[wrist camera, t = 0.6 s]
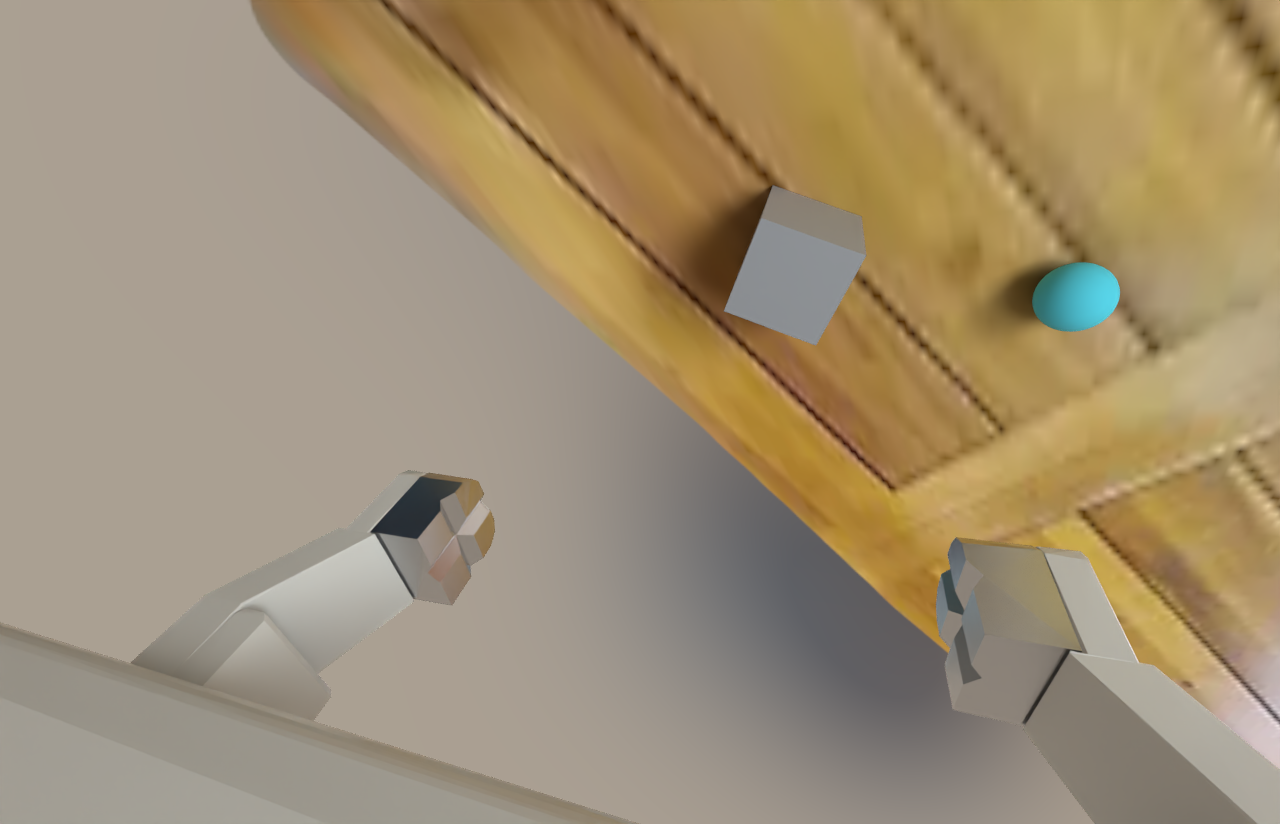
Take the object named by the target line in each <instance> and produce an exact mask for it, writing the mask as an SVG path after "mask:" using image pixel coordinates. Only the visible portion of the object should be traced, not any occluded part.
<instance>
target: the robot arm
mask: <svg viewBox="0 0 1280 824" xmlns="http://www.w3.org/2000/svg"><path fill="white" fill-rule="evenodd" d="M483 495H484V493H483V490H482V488H481V486H480V484H479V482H478V481H476V480H472V479H467V478H460V477H454V476H447V475H441V474H434V473H425V472H417V471H411V470H408V471H405V472H403V473H400V474H399V475H398V476H397V477H396V478H395V479H394V480H393V481H392V482H391V483H390V484H389V485H388V486H387V487H386V488H385V489H384V490H383V491H382V492H381V493H380V494H379V496H377V497H376V498H375V500H373V502H372V503H371V504H370V505H369V506H368V507H367V508H366V509H365V510H364V511H363V512H362V513H361V514H360V515H359V516H358V517H357V518H356V519H355V520H354V521H353V522H352V523H351V524H350V525H349V526H348V527H347V528H346V529H344V528H338V529H336V530H334V531H332V532H331V533H328V534H326V535H325V536H322V537H320V538H318V539H316V540H314V541H312V542H310V543H308V544H306V545H304V546H302V547H300V548H298V549H296V550H294V551H292V552H290V553H288V554H286V555H284V556H283V557H280V558H278V559H276V560H274V561H272V562H270V563H268V564H266V565H264V566H262V567H260V568H258V569H256V570H255V571H252V572H250V573H248V574H246V575H244V576H242V577H240V578H238V579H236V580H234V581H232V582H230V583H228V584H226V585H224V586H222V587H220V588H218V589H216V590H214V591H212V592H210V593H208V594H206V595H204V596H203V597H202V598H201V599H200V600H199V601H198V602H197V603H196V604H194V605H193V606H192V607H191V608H190V609H189V610H188V611H187V612H186V613H184V614H183V615H182V616H181V617H180V618H179V619H178V620H177V621H176V622H175V623H173V624H172V625H171V626H170V627H169V628H168V629H167V630H166V631H165V632H164V633H163V634H162V635H160V636H159V637H158V638H157V639H156V640H155V641H154V642H153V643H151V644H150V645H149V646H148V647H147V648H146V649H145V650H144V651H143V652H142V653H140V654H139V655H138V656H137V657H136V658H135V659H134V660H133V661H132V662H131V663H128V662H124V661H121V660H118V659H115V658H112V657H108V656H106V655H102V654H99V653H96V652H92V651H90V650H86V649H83V648H80V647H76V646H74V645H70V644H67V643H64V642H61V641H58V640H54V639H51V638H48V637H44V636H41V635H38V634H35V633H32V632H29V631H25V630H22V629H19V628H16V627H13V626H10V625H7V624H4V623H1V622H0V824H638V823H635V822H632V821H629V820H626V819H623V818H619V817H616V816H613V815H610V814H607V813H604V812H600V811H597V810H594V809H591V808H588V807H585V806H581V805H578V804H575V803H572V802H569V801H565V800H562V799H559V798H556V797H553V796H550V795H547V794H543V793H540V792H537V791H534V790H531V789H528V788H524V787H521V786H518V785H515V784H511V783H509V782H505V781H502V780H499V779H496V778H493V777H489V776H486V775H483V774H480V773H477V772H474V771H470V770H467V769H464V768H461V767H458V766H454V765H451V764H448V763H445V762H442V761H438V760H436V759H432V758H429V757H426V756H423V755H420V754H416V753H413V752H410V751H407V750H404V749H400V748H397V747H394V746H391V745H388V744H385V743H381V742H378V741H375V740H372V739H369V738H366V737H362V736H359V735H356V734H353V733H349V732H346V731H344V730H340V729H337V728H334V727H331V726H328V725H324V724H321V723H318V722H315V721H314V719H315V718H316V716H317V715H318V714H319V713H320V711H321V710H322V708H323V707H324V706H325V704H326V703H327V702H328V700H329V699H330V698H331V689H330V688H329V687H328V686H327V684H326V683H325V682H324V681H323V680H322V679H321V677H320V676H319V675H318V673H319V672H321V671H322V670H323V669H325V668H326V667H327V666H329V665H330V664H331V663H333V662H334V661H335V660H337V659H338V658H339V657H341V656H342V655H343V654H345V653H346V652H347V651H349V650H350V649H351V648H353V647H354V646H355V645H357V644H358V643H359V642H361V641H362V640H363V639H365V638H366V637H367V636H369V635H370V634H371V633H373V632H374V631H375V630H376V629H378V628H379V627H380V626H382V625H383V624H385V623H386V622H387V621H389V620H390V619H391V618H393V617H394V616H395V615H397V614H398V613H399V612H401V611H402V610H403V609H405V608H406V607H407V606H409V605H410V604H411V603H413V602H414V600H413V599H418V600H423V601H429V602H435V603H440V604H446V605H453V603H454V602H455V600H456V599H457V597H458V596H459V594H460V592H461V591H462V590H463V588H464V587H465V585H466V584H467V582H468V581H469V579H470V577H471V569H470V566H471V565H473V564H474V563H476V562H477V561H479V560H481V559H482V558H484V556H485V554H486V553H487V551H488V549H489V548H490V546H491V543H492V540H493V536H494V532H495V527H494V518H493V516H492V513H491V511H490V510H489V509H488V508H487V507H486V506H485V505H484V504H483V503H482V502H481V499H482V497H483ZM948 559H949V564H950V570H948V571H946V572H944V573H942V574H941V578H940V581H939V585H938V589H937V601H936V612H937V623H938V629H939V636H940V637H941V639H942V640H943V641H944V642H945V643H946V644H947V645H948V646H949V647H950V651H949V654H948V656H947V659H946V662H945V670H946V675H947V681H948V686H949V692H950V696H951V702H952V707H953V710H956V711H960V712H964V713H968V714H973V715H977V716H982V717H986V718H990V719H994V720H999V721H1003V722H1007V723H1012V724H1016V725H1020V726H1024V728H1023V730H1024V732H1025V733H1026V734H1027V735H1028V737H1029V738H1030V739H1031V741H1032V742H1033V743H1034V745H1035V746H1036V747H1037V749H1038V750H1039V751H1040V752H1041V754H1042V755H1043V757H1044V758H1045V759H1046V760H1047V762H1048V763H1049V764H1050V766H1051V767H1052V768H1053V770H1054V771H1055V772H1056V773H1057V775H1058V776H1059V777H1060V779H1061V780H1062V781H1063V783H1064V784H1065V785H1066V787H1068V789H1069V791H1070V792H1071V793H1072V795H1073V796H1074V797H1075V799H1076V800H1077V801H1078V802H1079V804H1080V805H1081V806H1082V807H1083V809H1084V810H1085V812H1086V813H1087V814H1088V816H1089V817H1090V818H1091V819H1092V821H1093V822H1094V823H1095V824H1280V769H1278V768H1277V767H1276V766H1275V765H1274V764H1272V763H1271V762H1270V761H1269V760H1267V759H1266V758H1265V757H1264V756H1263V755H1261V754H1260V753H1259V752H1258V751H1257V750H1255V749H1254V748H1253V747H1252V746H1251V745H1249V744H1248V743H1247V742H1246V741H1245V740H1243V739H1242V738H1241V737H1240V736H1239V735H1237V734H1236V733H1235V732H1234V731H1232V730H1231V729H1230V728H1229V727H1228V726H1226V725H1225V724H1224V723H1223V722H1222V721H1220V720H1219V719H1218V718H1217V717H1216V716H1214V715H1213V714H1212V713H1211V712H1210V711H1208V710H1207V709H1206V708H1205V707H1204V706H1202V705H1201V704H1200V703H1199V702H1197V701H1196V700H1195V699H1194V698H1193V697H1191V696H1190V695H1189V694H1188V693H1187V692H1185V691H1184V690H1183V689H1182V688H1181V687H1179V686H1178V685H1177V684H1176V683H1175V682H1173V681H1172V680H1171V679H1170V678H1169V677H1167V676H1166V675H1165V674H1164V673H1163V672H1161V671H1160V670H1159V669H1158V668H1156V667H1155V666H1154V665H1149V664H1144V663H1139V662H1138V660H1137V658H1136V656H1135V654H1134V652H1133V650H1132V647H1131V645H1130V643H1129V641H1128V639H1127V637H1126V635H1125V633H1124V631H1123V629H1122V627H1121V625H1120V623H1119V621H1118V619H1117V617H1116V615H1115V613H1114V611H1113V609H1112V607H1111V604H1110V602H1109V600H1108V598H1107V596H1106V594H1105V592H1104V590H1103V588H1102V586H1101V584H1100V582H1099V580H1098V578H1097V576H1096V574H1095V572H1094V570H1093V568H1092V566H1091V564H1090V562H1089V559H1088V558H1087V557H1086V556H1085V555H1084V554H1083V553H1082V552H1080V551H1072V550H1063V549H1054V548H1045V547H1033V546H1029V545H1020V544H1011V543H1002V542H993V541H984V540H975V539H966V538H957V537H956V538H955V539H954V540H953V542H952V543H951V546H950V549H949V552H948Z"/></svg>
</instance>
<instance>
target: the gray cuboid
mask: <svg viewBox="0 0 1280 824" xmlns="http://www.w3.org/2000/svg"><path fill="white" fill-rule="evenodd" d="M865 257H866V250H865V242H864V233H863V225H862V217H861V216H859V215H856V214H853V213H850V212H847V211H844V210H842V209H839V208H836V207H833V206H830V205H827V204H825V203H822V202H819V201H816V200H813V199H810V198H808V197H805V196H802V195H799V194H796V193H793V192H791V191H788V190H785V189H782V188H779V187H776V186H774V185H773V186H772V189H771V191H770V194H769V196H768V199H767V202H766V204H765V207H764V209H763V212H762V214H761V217H760V219H759V222H758V224H757V227H756V229H755V232H754V234H753V237H752V239H751V242H750V244H749V247H748V249H747V252H746V254H745V257H744V259H743V262H742V264H741V267H740V269H739V272H738V275H737V277H736V280H735V283H734V286H733V288H732V291H731V294H730V296H729V299H728V302H727V304H726V307H725V310H724V311H725V312H727V313H730V314H733V315H736V316H738V317H741V318H744V319H746V320H749V321H752V322H754V323H757V324H760V325H762V326H765V327H768V328H770V329H773V330H776V331H778V332H781V333H784V334H786V335H789V336H792V337H795V338H797V339H800V340H803V341H805V342H808V343H811V344H813V345H816V344H817V343H818V341H819V339H820V337H821V335H822V334H823V332H824V330H825V328H826V327H827V325H828V323H829V321H830V319H831V318H832V316H833V314H834V312H835V310H836V309H837V307H838V305H839V303H840V302H841V300H842V298H843V296H844V294H845V293H846V291H847V289H848V287H849V285H850V284H851V282H852V280H853V278H854V277H855V275H856V273H857V271H858V269H859V268H860V266H861V264H862V262H863V260H864V259H865Z"/></svg>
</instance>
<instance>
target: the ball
mask: <svg viewBox="0 0 1280 824" xmlns="http://www.w3.org/2000/svg"><path fill="white" fill-rule="evenodd" d="M1119 296H1120V288H1119V284H1118V282H1117V280H1116V278H1115V277H1114V275H1113V274H1112V273H1111V272H1110V271H1108V270H1107V269H1105V268H1104V267H1102V266H1099V265H1096V264H1093V263H1082V262H1080V263H1071V264H1067V265H1064V266H1061V267H1059V268H1056V269H1055V270H1053V271H1051V272H1050V273H1048V274H1047V275H1046V276H1045V277H1044V278H1043V279H1042V280H1041V281H1040V282H1039V284H1038V285H1037V287H1036V288H1035V291H1034V294H1033V298H1032V304H1033V309H1034V312H1035V314H1036V316H1037V317H1038V318H1039V320H1040V321H1041V322H1042V323H1044V324H1045V325H1047V326H1048V327H1051V328H1053V329H1056V330H1060V331H1070V332H1071V331H1081V330H1085V329H1088V328H1091V327H1093V326H1095V325H1097V324H1099V323H1101V322H1102V321H1104V320H1105V319H1106V318H1107V317H1108V316H1109V315H1110V314H1111V313H1112V312H1113V311H1114V309H1115V308H1116V306H1117V303H1118V301H1119Z"/></svg>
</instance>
